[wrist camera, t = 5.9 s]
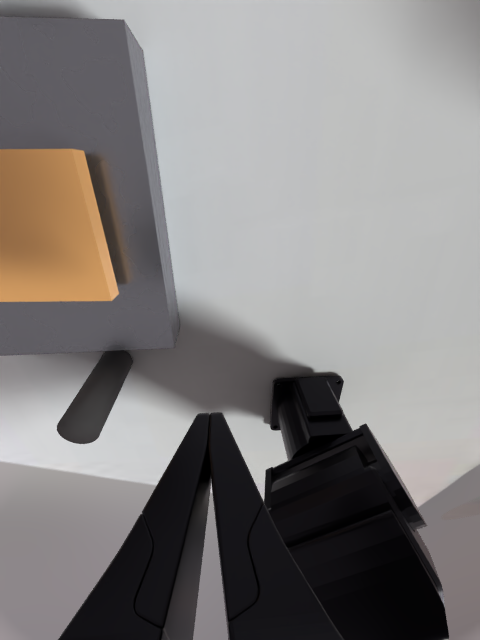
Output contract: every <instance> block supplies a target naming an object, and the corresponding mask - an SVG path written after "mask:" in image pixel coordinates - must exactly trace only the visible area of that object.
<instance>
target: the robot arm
mask: <svg viewBox="0 0 480 640" xmlns="http://www.w3.org/2000/svg"><path fill="white" fill-rule="evenodd" d="M336 381H338V382H336ZM343 383H344V381H343V379H342V377H341V376H319V377H300V378H280V379H276V380H274V381H273V387H272V402H271V416H270V427H271V429H272V430H281V433H282V437H283V441H284V445H285V450H286V454H287V458H288V461H287V462H285V463H283V464H280V465H278V466H276V467H274V468H273V467H271V468H269V469H267V470H266V477H265V498H264V502H263V499H262V497H261V495H260V493H259V491H258V489H257V486H256V484H255V482H254V480H253V478H252V476H251V474H250V471H249V469H248V467H247V465H246V463H245V461H244V459H243V456H242V454H241V452H240V450H239V448H238V446H237V444H236V441H235V439H234V437H233V435H232V433H231V431H230V428H229V426H228V424H227V422H226V420H225V418H224V416H223V414H222V413H221V412H217V413H211V414H209V413H200V414H198V415H197V416H196V418H195V419H194V421H193V423H192V425H191V426H190V428H189V430H188V432H187V433H186V435H185V437H184V439H183V441H182V442H181V444H180V446H179V448H178V449H177V451H176V453H175V455H174V456H173V458H172V460H171V462H170V463H169V465H168V467H167V469H166V470H165V472H164V474H163V476H162V477H161V479H160V481H159V483H158V484H157V486H156V488H155V490H154V491H153V493H152V495H151V497H150V499H149V500H148V502H147V504H146V506H145V507H144V509H143V511H142V514H141V515H140V516H139V518H138V519H137V521H136V523H135V525H134V526H133V528H132V530H131V531H130V533H129V535H128V536H127V538H126V540H125V541H124V543H123V545H122V546H121V548H120V550H119V551H118V553H117V554H116V556H115V558H114V559H113V560H112V562H111V564H110V565H109V567H108V568H107V569H106V571H105V572H104V574H103V575H102V577H101V578H100V580H99V582H98V583H97V584H96V586H95V587H94V588H93V590H92V591H91V593H90V594H89V596H88V597H87V599H86V600H85V601H84V603H83V604H82V606H81V607H80V609H79V610H78V612H77V613H76V615H75V616H74V618H73V619H72V621H71V622H70V623H69V625H68V626H67V628H66V629H65V630H64V632H63V633H62V635H61V636H60V638H59V639H58V640H193V633H194V625H195V624H194V623H195V616H196V608H197V599H198V591H199V582H200V574H201V565H202V556H203V548H204V539H205V530H206V522H207V514H208V505H209V496H210V487H211V482H212V492H213V501H214V510H215V519H216V528H217V538H218V547H219V557H220V566H221V575H222V584H223V593H224V603H225V612H226V622H227V630H228V640H448V639H449V633H448V626H447V620H446V614H445V605H444V596H443V589H442V585H441V582H440V579H439V577H438V574H437V571H436V569H435V566H434V563H433V561H432V558H431V555H430V553H429V551H428V549H427V547H426V545H425V543H424V542H423V540H422V538H421V536H420V535H419V533H418V531H417V529H420V528H422V527H425V526H427V525H426V523H425V521H424V519H423V517H422V515H421V514H420V512H419V510H418V508H417V506H416V505H415V503H414V501H413V499H412V497H411V495H410V494H409V492H408V490H407V488H406V486H405V485H404V483H403V481H402V480H401V478H400V476H399V475H398V473H397V471H396V470H395V468H394V466H393V465H392V463H391V461H390V460H389V458H388V456H387V455H386V453H385V452H384V450H383V449H382V447H381V446H380V444H379V443H378V441H377V439H376V438H375V436H374V435H373V433H372V432H371V430H370V429H369V427H368V426H367V424H364V425H362V426H359V427H360V428H358V429H356V430H354V431H353V430H352V428H351V426H350V424H349V423H348V421H347V419H346V417H345V415H344V413H343V410H342V408H341V406H340V404H339V399H340V395H341V391H342V387H343ZM277 384H279V385H277Z"/></svg>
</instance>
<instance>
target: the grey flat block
mask: <svg viewBox="0 0 480 640" xmlns="http://www.w3.org/2000/svg"><path fill="white" fill-rule="evenodd" d="M0 149H76V150H82V151H84V153H85V157H86V161H87V165H88V169H89V174H90V178H91V182H92V186H93V190H94V194H95V198H96V202H97V206H98V210H99V214H100V218H101V222H102V226H103V230H104V235H105V239H106V243H107V247H108V251H109V255H110V259H111V263H112V267H113V271H114V275H115V279H116V283H117V287H118V291H119V294H118V295H117V296H116V297H115V298H114V299H113V300H112V301H49V302H0V356H2V355H25V354H48V353H71V352H94V351H117V350H140V349H163V348H174V347H175V343H176V340H177V336H178V332H179V328H180V323H179V315H178V308H177V300H176V293H175V286H174V278H173V271H172V263H171V256H170V248H169V241H168V233H167V226H166V218H165V211H164V204H163V196H162V189H161V181H160V174H159V166H158V159H157V151H156V144H155V136H154V129H153V121H152V114H151V107H150V99H149V92H148V84H147V77H146V69H145V62H144V54H143V50H142V48H141V47H140V45H139V43H138V42H137V40H136V39H135V37H134V35H133V34H132V32H131V30H130V29H129V27H128V25H127V24H126V22H125V21H124V20H117V19H78V18H39V17H0Z"/></svg>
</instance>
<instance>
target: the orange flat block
mask: <svg viewBox="0 0 480 640" xmlns="http://www.w3.org/2000/svg"><path fill="white" fill-rule="evenodd" d="M118 294H119V291H118V287H117V283H116V279H115V275H114V271H113V267H112V263H111V259H110V255H109V251H108V247H107V243H106V239H105V235H104V230H103V226H102V222H101V218H100V214H99V210H98V206H97V202H96V198H95V194H94V190H93V186H92V182H91V178H90V174H89V169H88V165H87V161H86V157H85V153H84V151H82V150H76V149H0V302H49V301H112V300H113V299H114V298H115V297H116V296H117V295H118Z"/></svg>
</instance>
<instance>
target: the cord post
mask: <svg viewBox="0 0 480 640" xmlns="http://www.w3.org/2000/svg"><path fill="white" fill-rule="evenodd" d="M132 363H133V360H132V357H131V355H130V354H129V353H128V352H126V351H125V350H117V351H106V352H105V353H104V354H103V356H102V357H101V359H100V360H99V362H98V363H97V365H96V366H95V368H94V369H93V371H92V372H91V374H90V375H89V377H88V379H87V380H86V382H85V383H84V385H83V386H82V388H81V389H80V391H79V392H78V394H77V395H76V397H75V398H74V400H73V401H72V403H71V405H70V406H69V408H68V409H67V411H66V412H65V414H64V415H63V417H62V418H61V420H60V421H59V423H58V425H57V431H58V433H59V434H60V436H62V437H63V438H64V439H66V440H68V441H70V442H73V443H78V444H87V443H91V442H93V441H95V440H96V439H97V438H98V437H99V435H100V433H101V431H102V428H103V426H104V424H105V422H106V420H107V418H108V415H109V413H110V411H111V409H112V407H113V405H114V403H115V400H116V398H117V396H118V394H119V392H120V390H121V388H122V385H123V383H124V381H125V379H126V377H127V375H128V372H129V370H130V368H131V366H132Z"/></svg>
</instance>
